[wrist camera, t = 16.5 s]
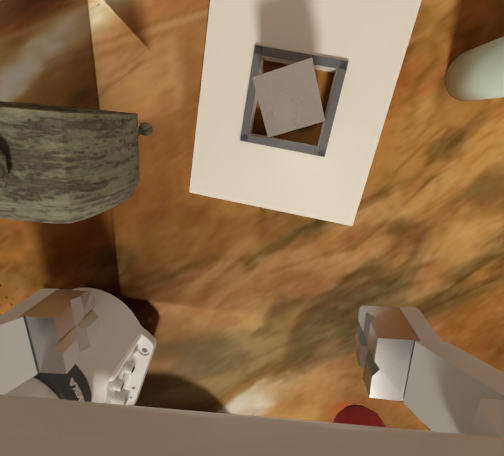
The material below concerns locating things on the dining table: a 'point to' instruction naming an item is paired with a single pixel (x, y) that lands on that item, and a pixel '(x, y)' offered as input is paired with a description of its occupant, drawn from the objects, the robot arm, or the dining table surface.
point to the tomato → (359, 416)
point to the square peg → (289, 98)
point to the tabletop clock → (66, 161)
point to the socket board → (337, 111)
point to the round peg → (477, 73)
